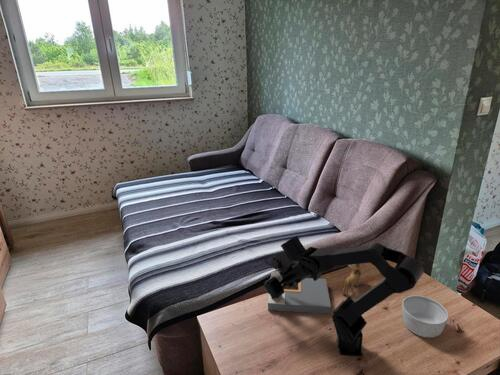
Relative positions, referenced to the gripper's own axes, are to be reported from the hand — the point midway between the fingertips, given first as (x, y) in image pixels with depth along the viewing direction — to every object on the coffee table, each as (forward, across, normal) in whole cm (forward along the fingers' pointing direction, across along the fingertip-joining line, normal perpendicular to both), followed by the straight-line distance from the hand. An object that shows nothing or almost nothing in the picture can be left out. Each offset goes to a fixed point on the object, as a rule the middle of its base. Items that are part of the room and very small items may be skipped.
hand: (274, 285), depth 111 cm
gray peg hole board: (+2, -9, +9) cm, 13 cm away
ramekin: (-25, -24, +36) cm, 50 cm away
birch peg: (+3, 0, +4) cm, 5 cm away
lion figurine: (-6, -27, +18) cm, 33 cm away
